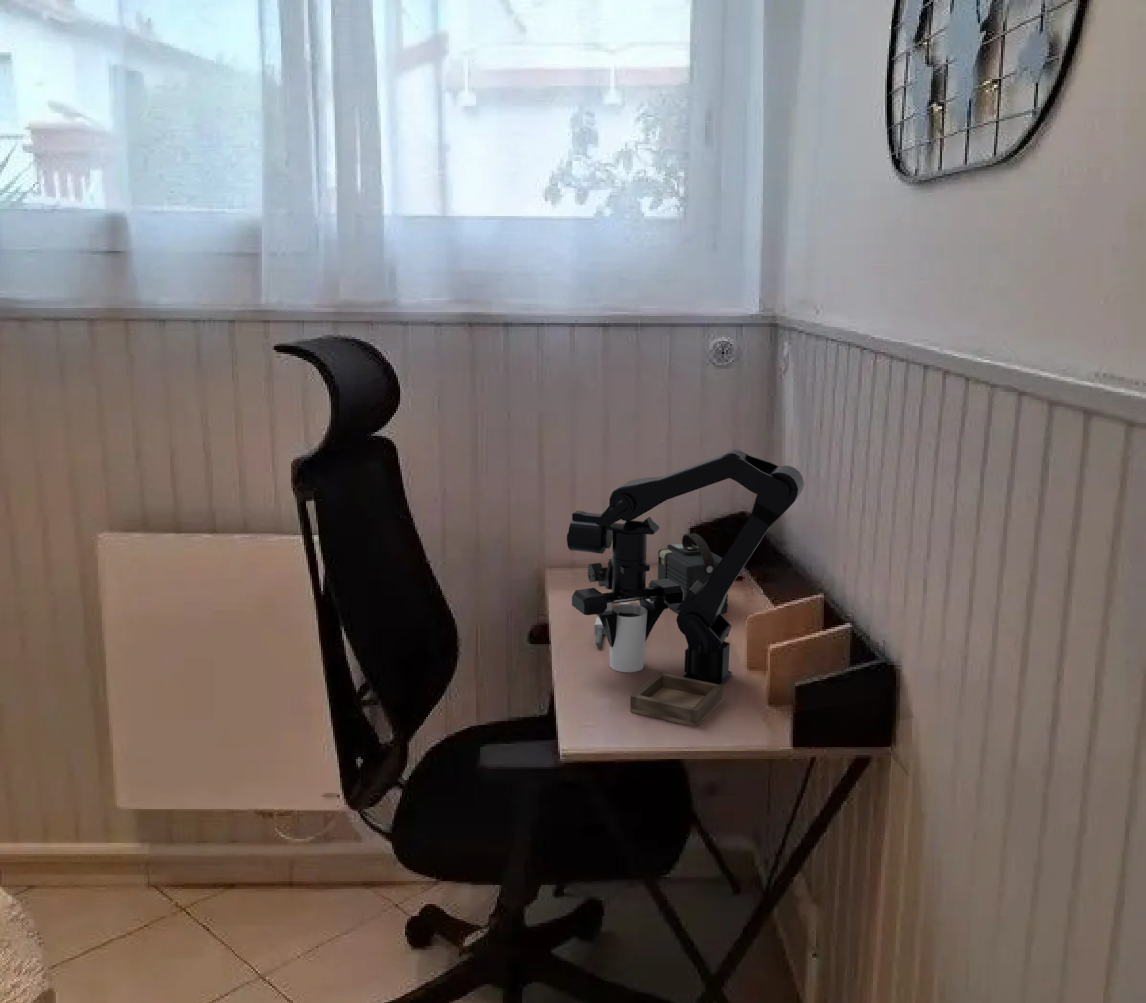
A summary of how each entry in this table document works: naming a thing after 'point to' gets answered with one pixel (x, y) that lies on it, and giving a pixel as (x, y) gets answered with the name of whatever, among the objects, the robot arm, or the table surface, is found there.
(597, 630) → the walkie-talkie
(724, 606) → the camera
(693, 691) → the frame
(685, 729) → the table surface
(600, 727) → the table surface
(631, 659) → the white cup
